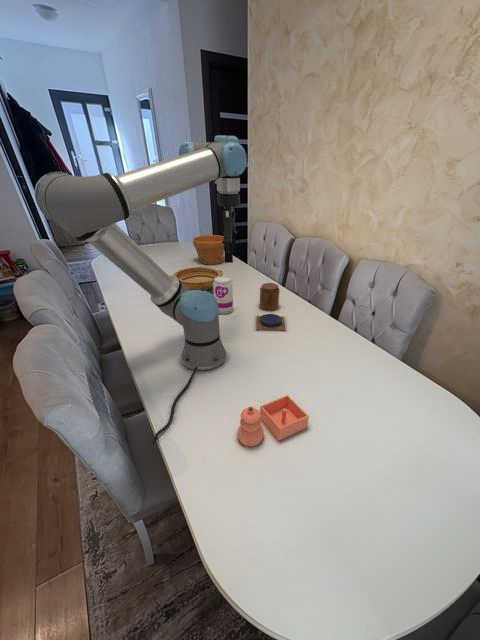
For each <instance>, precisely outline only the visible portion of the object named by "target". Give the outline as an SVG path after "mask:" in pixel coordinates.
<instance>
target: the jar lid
mask: <svg viewBox="0 0 480 640" xmlns="http://www.w3.org/2000/svg"><path fill="white" fill-rule="evenodd" d="M260 316H261V318H260V323H261V325H263V326H265V327H278V326H280V325H281V323H282V318H281V317H282V316H280V315H279V314H274V313H267V314H265V313H264V314H263V315H260Z"/></svg>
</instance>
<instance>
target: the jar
mask: <svg viewBox="0 0 480 640" xmlns="http://www.w3.org/2000/svg"><path fill="white" fill-rule="evenodd" d="M280 292H281V291H280V287H279V285H278V284H277V283H274V282H265V283H262V284H261V286H260V288H259V309H260V310H262V311H264V312H275V311H277V310H279V308H280V307H279V306H280Z"/></svg>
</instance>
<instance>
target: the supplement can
mask: <svg viewBox="0 0 480 640" xmlns="http://www.w3.org/2000/svg"><path fill="white" fill-rule="evenodd" d="M212 289H213V295H214V296H215V297H216V299H217V302H218V307H219V314H220V315H228V314H230V313H232V312H233V310H234V298H233V297H234V294H233V291H234V290H233V281H232V279H231V277H229V276H226V275H225V276H223V275H222V276H221V277H216V278H215V279H214V282H213V287H212Z"/></svg>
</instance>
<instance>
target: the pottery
mask: <svg viewBox="0 0 480 640" xmlns="http://www.w3.org/2000/svg"><path fill="white" fill-rule="evenodd" d="M309 418H310V416H309V414H308V413H306V411H304V409H302V408H301V407H300V405H299V404H297V402H295V400H293V398H291V397H290V395H289V394H287V395H284V396H282V397H279V398H277V399H274V400H272V401H269V402H266V403H264V404H262V405H260V406H259V409H257V408H255V407H253V406H248V407H246V408H244V409H243V410H242V411H241V413H240V420H239V426H238V428H237V437H238V440H239V442H240V444H242V445H243V446H245V447H251V448H252V447H255V446H257V445H259V444H261V442H262V440H263V437H264V428H263V426H262V422H263V423H264V424H265V426H266V427H267V428H268V430H269V431H270V432H271V433H272V434H273V435H274V437H275V438H276V439H277V440H278V441H279V442H280V441H282V440H283V439H286V438H289V437H290V436H292V435H294V434H296V433H299V432H300V431H303V430H305V429H307V428H308V425H309Z"/></svg>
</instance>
